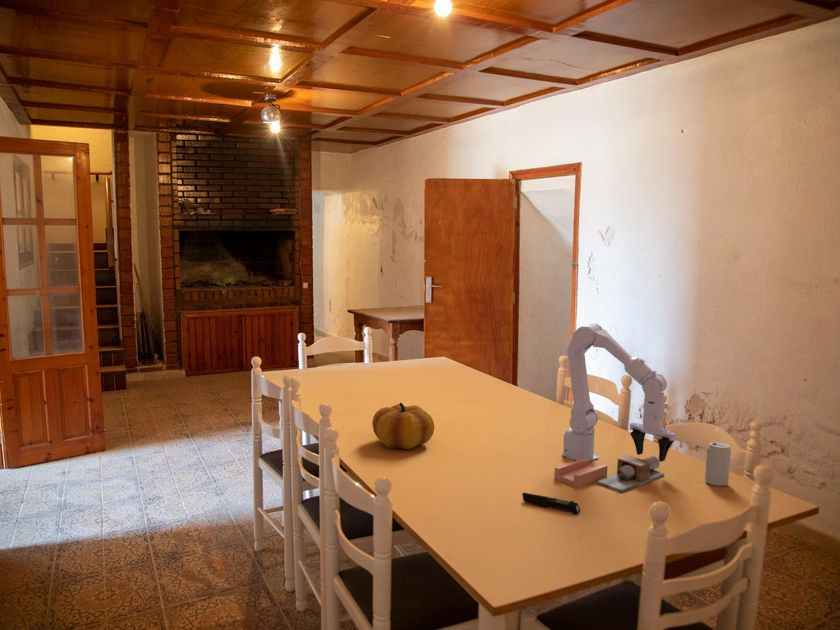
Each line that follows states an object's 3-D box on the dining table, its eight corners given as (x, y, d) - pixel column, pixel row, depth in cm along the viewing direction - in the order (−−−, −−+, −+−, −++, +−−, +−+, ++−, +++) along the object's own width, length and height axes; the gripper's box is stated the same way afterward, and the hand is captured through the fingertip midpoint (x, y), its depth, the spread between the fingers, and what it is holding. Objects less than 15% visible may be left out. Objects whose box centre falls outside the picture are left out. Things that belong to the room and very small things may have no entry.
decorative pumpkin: (428, 456, 212) (429, 411, 210) (363, 451, 216) (364, 407, 214) (439, 437, 231) (439, 396, 229) (379, 433, 235) (379, 393, 234)
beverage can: (708, 477, 196) (710, 439, 195) (730, 483, 192) (733, 444, 190) (701, 483, 191) (704, 444, 190) (724, 489, 187) (727, 449, 186)
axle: (628, 482, 189) (629, 469, 189) (617, 478, 192) (617, 465, 192) (659, 470, 199) (660, 458, 199) (647, 466, 202) (648, 454, 202)
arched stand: (596, 483, 190) (597, 464, 189) (639, 467, 204) (640, 450, 203) (621, 492, 183) (622, 473, 183) (663, 475, 197) (665, 457, 196)
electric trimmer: (524, 500, 178) (524, 489, 178) (580, 511, 171) (581, 499, 171) (520, 505, 175) (520, 494, 175) (577, 516, 168) (577, 505, 168)
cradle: (554, 478, 193) (554, 467, 193) (583, 468, 202) (584, 457, 202) (577, 487, 187) (578, 476, 186) (606, 476, 195) (607, 465, 195)
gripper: (624, 411, 201) (622, 453, 202) (667, 422, 189) (665, 466, 191) (637, 407, 205) (635, 449, 207) (680, 418, 194) (678, 461, 195)
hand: (650, 457), depth 199 cm, fingers open, 7 cm apart
